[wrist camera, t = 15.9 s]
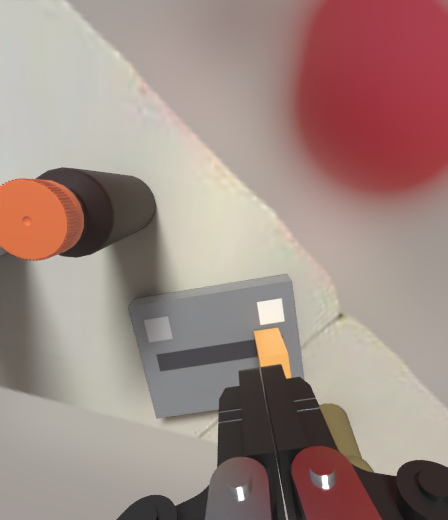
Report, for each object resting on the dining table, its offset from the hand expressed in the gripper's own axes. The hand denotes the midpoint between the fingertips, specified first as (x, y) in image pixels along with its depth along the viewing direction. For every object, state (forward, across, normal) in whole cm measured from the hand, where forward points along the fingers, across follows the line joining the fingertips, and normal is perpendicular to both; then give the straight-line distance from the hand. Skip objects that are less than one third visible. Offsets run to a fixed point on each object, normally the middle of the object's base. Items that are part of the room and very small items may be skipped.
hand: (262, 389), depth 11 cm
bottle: (+29, +12, -7) cm, 32 cm away
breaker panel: (+29, +4, +13) cm, 32 cm away
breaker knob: (+26, -2, +13) cm, 29 cm away
